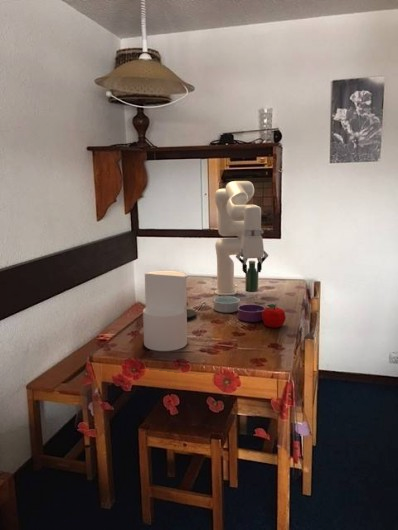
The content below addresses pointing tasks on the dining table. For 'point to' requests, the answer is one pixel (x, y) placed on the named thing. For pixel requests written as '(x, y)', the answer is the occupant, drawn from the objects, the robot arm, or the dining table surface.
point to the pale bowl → (226, 304)
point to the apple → (273, 316)
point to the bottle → (251, 278)
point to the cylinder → (165, 310)
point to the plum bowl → (250, 312)
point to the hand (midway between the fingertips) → (252, 271)
